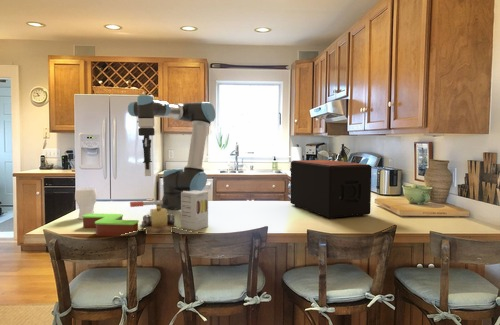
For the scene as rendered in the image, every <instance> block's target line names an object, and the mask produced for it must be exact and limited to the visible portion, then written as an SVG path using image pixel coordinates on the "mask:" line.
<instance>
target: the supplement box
mask: <svg viewBox="0 0 500 325" xmlns="http://www.w3.org/2000/svg"><path fill="white" fill-rule="evenodd" d="M180 227H181V228H182V229H188V230H190V231H191V230H192V231H198V230H200V229H204V228H208V227H209V192H208V191H206V190H205V191H204V190H202V191H197V190H193V191H183V192H181V209H180Z"/></svg>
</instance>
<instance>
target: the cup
mask: <svg viewBox="0 0 500 325" xmlns="http://www.w3.org/2000/svg"><path fill="white" fill-rule="evenodd" d="M97 198H98V192H97V188H95V187H81V188H76V189H75V192H74V200H75V202H76V204H77V206H78V210H79V212H78V219H79V220H83V217H82V216H83V215H86V214H90V213H93V214H95V210H94V209H95V204H96V203H97Z"/></svg>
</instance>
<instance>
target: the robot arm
mask: <svg viewBox="0 0 500 325" xmlns="http://www.w3.org/2000/svg"><path fill="white" fill-rule="evenodd" d="M127 112H128V113H129V116H131V117H137V120H136V123H137V124H138V132H137V133H138V136H141V137H143V139H142V140H141V142H142V148H143V161H142V163H143V164H144V176H145V177H151V176H152V170H151V169H152V168H151V165H152V164H151V163H153V160H152V158H151V148H152V139H151V138H150V137H152V136H153V137H154V136H155V131H156V130H155V118H165V119H166V118H167V119H168V118H170V119H173V120H175V121H176V120H177V121H184V122H190V123H191V125H192V131H191V138H190V142H189V143H190V144H189V152H188V156H187V159H188V160H187V164H186V166H184V167H183V168H175V169H166V170H164V171H163V174H162V184H163V186H162V187H163V190H162V192H163V195H162V198H161V200H162V201H163V204H162V205H161V208H166V210H173V211H174V210H181V192H187V191H193V190H197V191H204V189H205V187H206V185H207V182H208V177H207V174H206V173H205V169H204V168H203V160H204V156H205V155H204V154H205V147H206V140H207V133H208V128H209V127H210V126H211V122H214V121H215V119H216V114H217V113H216V109H215V107H214V105H213V104H212V102H209V101H199V102H194V101H193V102H185V103H174V104H170V103H169V102H167V101H164V100H155V98H154V96H153V95H152V94H139V95H138V96H137V101H132V102H130V103H128V106H127Z"/></svg>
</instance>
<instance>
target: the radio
mask: <svg viewBox="0 0 500 325" xmlns="http://www.w3.org/2000/svg"><path fill="white" fill-rule="evenodd" d="M372 168H373V166H372V165H371V164H370V163H369V164H368V163H358V162H349V161H348V162H347V161H341V160H340V161H339V160H330V159H313V160H312V159H311V160H309V159H308V160H307V159H306V160H304V159H303V160H291V161H290V198H289V199H290V201H289V202H290V204H292V205H294V206H295V207H300V208H301V209H305V210H308V211H310V212H313V213H316V214H318V215H320V216H323V217H325V218H327V219H328V220H335V218H342V217H343V218H344V217H354V216H357V217H364V216H367V215H370V214H371V205H372V204H371V202H372V201H371V199H372V198H371V197H372V170H373V169H372Z"/></svg>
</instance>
